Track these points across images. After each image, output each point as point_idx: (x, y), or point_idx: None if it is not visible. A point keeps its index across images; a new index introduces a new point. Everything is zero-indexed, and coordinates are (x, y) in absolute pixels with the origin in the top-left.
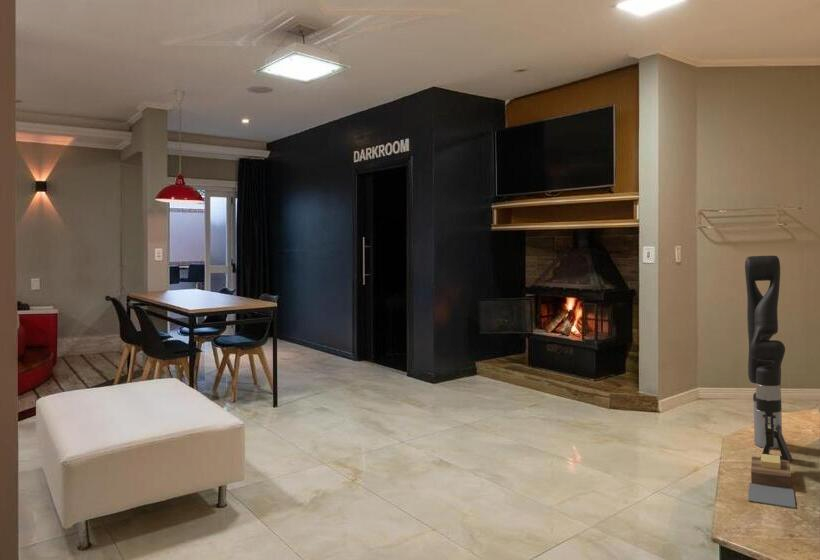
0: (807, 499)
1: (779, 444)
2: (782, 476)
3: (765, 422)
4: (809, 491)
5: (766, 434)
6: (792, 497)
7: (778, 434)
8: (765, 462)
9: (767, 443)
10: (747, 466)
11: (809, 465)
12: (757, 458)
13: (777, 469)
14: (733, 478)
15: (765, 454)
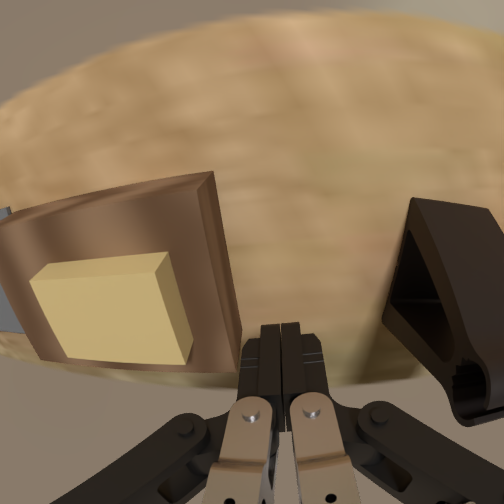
0: (35, 355)
1: (424, 350)
2: (29, 335)
3: (436, 479)
4: (87, 368)
5: (168, 429)
6: (9, 327)
7: (449, 400)
8: (40, 298)
9: (263, 345)
10: (225, 142)
11: (374, 374)
12: (173, 229)
13: None
14: (22, 134)
15: (154, 299)
